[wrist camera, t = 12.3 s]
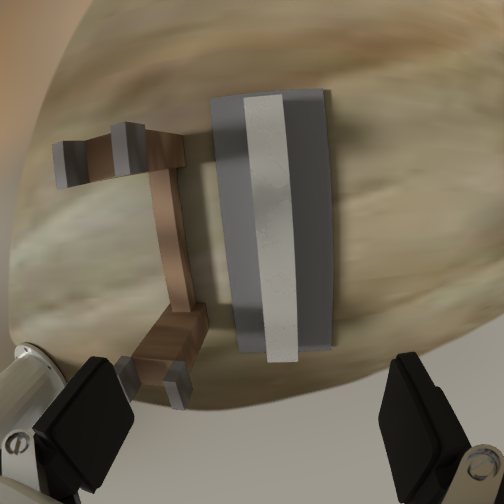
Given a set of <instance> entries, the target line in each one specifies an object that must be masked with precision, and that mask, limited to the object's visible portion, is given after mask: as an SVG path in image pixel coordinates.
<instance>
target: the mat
mask: <svg viewBox="0 0 504 504" xmlns="http://www.w3.org/2000/svg"><path fill="white" fill-rule="evenodd" d="M280 94H282V100H283V110H284V120H285V130H286V141H287V152H288V164H289V176H290V189H291V204H292V219H293V235H294V253H295V274H296V299H297V332H298V352H301V351H320V350H331V339H332V312H333V223H332V196H331V177H330V161H329V148H328V136H327V125H326V115H325V105H324V96H323V89H297V90H280V91H268V92H257V93H247V94H239V95H231V96H224V97H217V98H210V106H211V117H212V128H213V138H214V148H215V159H216V168H217V178H218V187H219V197H220V206H221V215H222V223H223V232H224V241H225V249H226V257H227V265H228V273H229V281H230V289H231V297H232V305H233V312H234V319H235V327H236V334H237V341H238V348H239V353H267V350H266V339H265V327H264V316H263V304H262V293H261V281H260V270H259V259H258V248H257V237H256V226H255V215H254V204H253V194H252V183H251V172H250V162H249V151H248V141H247V130H246V120H245V109H244V99H243V98H247V97H257V96H267V95H280Z"/></svg>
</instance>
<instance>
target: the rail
mask: <svg viewBox="0 0 504 504" xmlns="http://www.w3.org/2000/svg"><path fill="white" fill-rule="evenodd" d="M243 99H244V109H245V120H246V130H247V141H248V151H249V162H250V172H251V183H252V194H253V204H254V215H255V226H256V237H257V248H258V259H259V270H260V281H261V293H262V304H263V316H264V327H265V339H266V350H267V362H298V332H297V299H296V274H295V253H294V235H293V219H292V204H291V189H290V176H289V164H288V152H287V141H286V130H285V120H284V110H283V100H282V94H280V95H267V96H257V97H247V98H243Z"/></svg>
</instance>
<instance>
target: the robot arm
mask: <svg viewBox="0 0 504 504" xmlns="http://www.w3.org/2000/svg"><path fill="white" fill-rule="evenodd" d="M50 404H51V405H50ZM49 405H50V406H49ZM46 409H47V410H46ZM45 410H46V411H45ZM44 411H45V412H44ZM42 414H43V415H42ZM41 415H42V416H41ZM40 416H41V417H40ZM38 418H39V420H38ZM37 420H38V421H37ZM378 420H379V427H380V430H381V434H382V437H383V441H384V444H385V448H386V452H387V456H388V459H389V464H390V467H391V472H392V476H393V480H394V484H395V488H396V492H397V497H398V501H399V502H400V503H404V504H504V456H503V454H502V453H501V451H500V450H498V449H497V448H496V447H494V446H491V445H486V444H481V445H476V446H474V447H472V446H471V445H470V442H469V440H468V438H467V436H466V434H465V432H464V430H463V428H462V426H461V424H460V423H459V421H458V419H457V417H456V415H455V413H454V411H453V409H452V407H451V405H450V404H449V402H448V400H447V398H446V396H445V395H444V393H443V391H442V390H441V388H440V387H437V386H436V387H435V385H434V383H433V381H432V380H431V378H430V376H429V374H428V373H427V371H426V369H425V367H424V366H423V364H422V362H421V361H420V359H419V357H418V355H417V354H416V353H415V352H408V353H402V354H398V355H397V356H396V359H393V360H392V361H391V364H390V369H389V374H388V379H387V383H386V388H385V392H384V396H383V400H382V405H381V408H380V412H379V418H378ZM36 421H37V422H36ZM133 423H134V414H133V411H132V409H131V407H130V405H129V402H128V400H127V398H126V396H125V393H124V391H123V389H122V387H121V384H120V382H119V379H118V377H117V374H116V372H115V369H114V367H113V365H112V363H110V362H109V360H108V359H107V358H103V357H95V356H92V357H90V358H89V359H88V360H87V362H86V363H85V364H84V365H83V366H82V367H81V369H80V370H79V371H78V372H77V373H76V375H75V376H74V377H73V378H72V379H71V380H70V382H69V383H68V384H67V383H66V381H65V379H64V377H63V375H62V373H61V372H60V370H59V369H58V368H57V366H56V365H55V364H54V363H53V361H52V360H51V359H50V358H49V357H48V356H47V355H46V354H45V353H43V352H42V351H41V350H40V349H38V348H37V347H35V346H33V345H31V344H28V343H21V344H20V345H18V346H17V347H16V349H15V361H14V362H13V363H12V364H11V365H10V366H9V367H7V369H5V370H4V371H3V372H2V373H1V374H0V504H81V501H80V497H79V494H78V490H79V488H81V489H83V490H85V491H87V492H90V493H93V494H94V493H95V491H96V489H97V488H99V487H101V485H102V483H103V481H104V479H105V477H106V475H107V473H108V471H109V469H110V467H111V465H112V463H113V461H114V460H115V458H116V456H117V454H118V452H119V449H120V448H121V446H122V444H123V442H124V440H125V438H126V436H127V434H128V432H129V430H130V429H131V427H132V425H133ZM34 424H35V425H34ZM33 425H34V426H33ZM32 426H33V427H32ZM31 428H32V429H33V430H34V432H35V434H34V436H33V435H32V434H31V432H29V430H30V429H31Z"/></svg>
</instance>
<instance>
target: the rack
mask: <svg viewBox="0 0 504 504" xmlns="http://www.w3.org/2000/svg"><path fill="white" fill-rule="evenodd" d="M110 128H111V133H110V134H106V135H103V136H99V137H96V138H92V139H89V140H86V141H61V142H58V143H56V144H53V145H52V150H53V161H54V171H55V179H56V187H57V190H60V189H64V188H68V187H73V186H77V185H82V184H86V183H91V182H96V181H101V180H106V179H112V178H117V177H123V176H128V175H134V174H140V173H146V172H149V180H150V188H151V196H152V203H153V210H154V217H155V223H156V229H157V235H158V241H159V247H160V253H161V258H162V264H163V269H164V274H165V279H166V284H167V289H168V294H169V299H170V304H169V306H168V307H167V308H166V310H165V311H164V312H163V314H162V315H161V316H160V318H159V319H158V320H157V322H156V323H155V324H154V326H153V327H152V328H151V330H150V331H149V332H148V334H147V335H146V336H145V338H144V339H143V341H142V342H141V343H140V345H139V346H138V347H137V349H136V350H135V352H134V353H133V354H132V356H131V357H126V356H121V357H120V359H119V360H118V361H117V363H116V364H115V365H114V369H115V372H116V374H117V377H118V379H119V382H120V384H121V387H122V389H123V391H124V393H125V396H126V398H127V400H128V402H129V403H130V402H131V401H132V399H133V398H134V396H135V394H136V392H137V391H138V389H139V387H140V386H141V384H145V385H153V386H161V387H165V390H166V393H167V395H168V398H169V401H170V404H171V406H172V409H177V410H185V408H186V405H187V403H188V400H189V398H190V395H191V393H192V390H193V388H192V385H191V381H190V378H189V373H190V371H191V368H192V366H193V364H194V361H195V359H196V357H197V355H198V352H199V350H200V348H201V346H202V343H203V341H204V339H205V336H206V334H207V332H208V330H209V322H208V317H207V311H206V305H205V303H196V300H195V294H194V289H193V283H192V277H191V271H190V265H189V259H188V252H187V246H186V239H185V233H184V226H183V219H182V211H181V204H180V196H179V188H178V179H177V171H176V168H178V167H185V166H186V161H185V152H184V142H183V135H178V134H172V133H165V132H159V131H152V130H145V125H143V124H137V123H131V122H122V123H118V124H115V125H111V126H110Z"/></svg>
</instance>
